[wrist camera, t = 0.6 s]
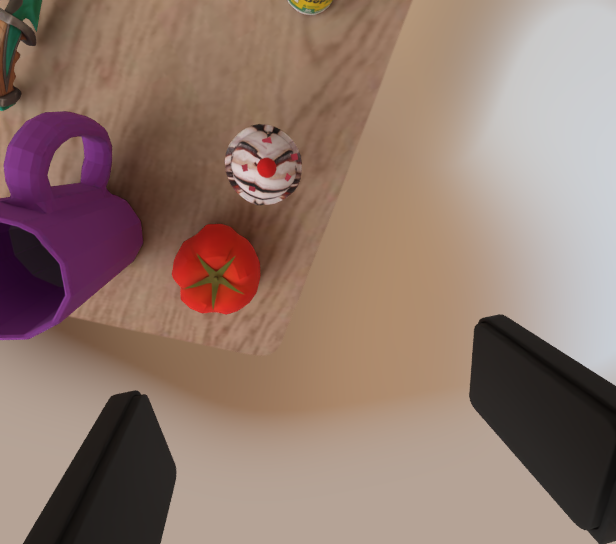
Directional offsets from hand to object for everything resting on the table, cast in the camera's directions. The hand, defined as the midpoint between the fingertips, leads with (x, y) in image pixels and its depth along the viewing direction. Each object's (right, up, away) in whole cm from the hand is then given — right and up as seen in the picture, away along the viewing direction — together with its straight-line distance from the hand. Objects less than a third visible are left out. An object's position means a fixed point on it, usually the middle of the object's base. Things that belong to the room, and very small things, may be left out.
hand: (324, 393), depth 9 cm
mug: (-22, +11, +24) cm, 34 cm away
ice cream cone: (-6, +15, +25) cm, 30 cm away
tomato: (-11, +5, +28) cm, 30 cm away
